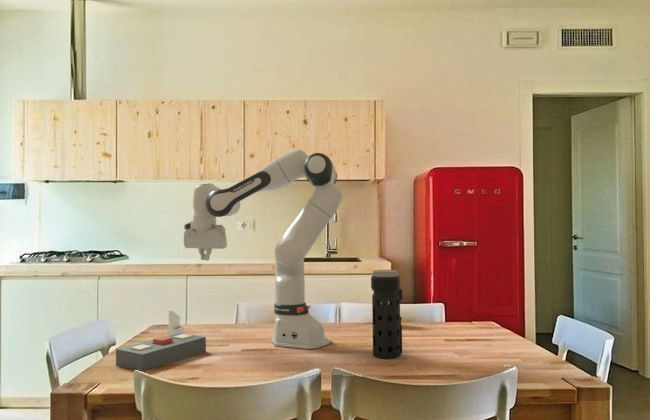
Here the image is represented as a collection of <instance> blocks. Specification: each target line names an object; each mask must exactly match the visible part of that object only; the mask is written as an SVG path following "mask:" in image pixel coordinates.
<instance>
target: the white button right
mask: <svg viewBox="0 0 650 420" xmlns="http://www.w3.org/2000/svg"><path fill="white" fill-rule="evenodd" d="M186 334H187V333H184V334H182V335H178V336H174V337H173V338H174V339H180V340H184V339H188V338H191V337H192V335H193V334H190V335H186Z"/></svg>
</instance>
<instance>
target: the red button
mask: <svg viewBox="0 0 650 420" xmlns="http://www.w3.org/2000/svg"><path fill="white" fill-rule="evenodd" d="M152 340H153V344H157V345H165V344H169V343H173V338H171V337H166V335H164V336H159V337H155V338H152Z"/></svg>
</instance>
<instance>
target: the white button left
mask: <svg viewBox="0 0 650 420" xmlns="http://www.w3.org/2000/svg"><path fill="white" fill-rule="evenodd" d="M150 348H152V346H148V345H143V344H142V345H138V346H134V347H131V350H136V351H143V350H146V349H150Z"/></svg>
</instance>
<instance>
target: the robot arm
mask: <svg viewBox="0 0 650 420" xmlns="http://www.w3.org/2000/svg"><path fill="white" fill-rule="evenodd" d="M337 174H338V173H337V171H336V167H335V165H334V163H333V161H332V160H331V159H330V157H329V156H327V155H326V154H324V153H322V152H314V153H312V154H310V155H308V154H307V153H306V152H305V151H304V150H302V149H295V150H294V149H293V150H291V151H289V152H286V153H284V154H282V155H280V156H279V157H277V158H275V159H273V160H272V161H270V162H268V163H267V164H266V165H264V166H263V167H261V169H259V170H257V171H256V172H255V173H253V174H252V175H251V176H249V177H247V178H245V179H243V180H242V181H239V182H238V183H236V184H234V185H231V186H230V187H228V188H224V189H223V188H220V187H217V186H216V185H215V184H214V183H202V184H199V185H197V186H195V188H194V190H193V197H192V207H193V216H192V217H193V218H192V220H191V221H189V222H187V223H185V224H183V229H184V232H183V246H184V248H185V249H198V252H199V255H200V260H201V261H210V259H211V258H210V257H211V253H212V252H213V249H214V250H218V249H219V250H223V249H226V248H227V247H228V241H227V240H228V239H227V234H226V228H225V227H224V225H222V224H217V218H220V217H221V218H222V217H231V216H233V215H236V214H237V213H238V212H239V210H240V208H241V201H243V200H245V199H247V198H249V197H250V196H252V195H254V194H257V193H259V192H264V191H265V192H266V191H275V190H278V189H282V188H284V187H286V186H288V185H290V184H292V183H293V182H294V181H297V180H298V179H301V178H306V180H307V181H308V182H309V183H310V184H311V185H312V186H313V187H314V191H313V193H312V195H311V196H310V198H309V199H308V200H307V202H306V203H305V204H304V206H303V207H302V209H301V210H300V211H299V213H298V215H296V217H295V218H294V220H293V221H292V223H291V224H290V226H289V227H288V228H287V230H286V231H285V233H283V235H282V237H281V238H280V240H278V242H276V246H275V249H274V257H275V258H274V259H275V260H274V261H275V262H274V263H275V266H274V267H275V268H274V270H275V272H274V273H275V276H274V277H275V279H274V282H275V283H274V284H275V285H274V286H275V287H274V292H275V293H274V294H275V296H274V298H275V299H274V301H275V302H274V305H273V310H274V311H273V313H274V326H273V333H272V338H271V340H270V341H271V343H273V344H272V345H273V346H275V347H284V348H295V349H306V350H313V349H318V348H319V349H320V348H322V347H325V346H326V345H327V346H328V345H329V344H330V343H331V342H332V341H331V338H329V337H326V336H325V329H324V326H323V324H321V322H319V320H317V319H316V318H315V317H314V316H313V315H311V314H310V312H309V310H310V309H311V305H308V304H307V303H306V302H305V301H306V298H305V296H306V295H305V293H306V292H305V284H306V283H305V257H306V256H307V255H308V253H309V252H310V250H311V248H312V247H313V246H314V244H315V243H316V241H317V240H318V239H319V236H320V235H321V233H322V232H323V231H324V230H325V228H326V227H327V226H328V224H329V222H330V220H331V219H332V218H333V217H334V215H335V214H336V212H337V210H338V208H339V207H340V204H341V202H342V200H343V193H342V190H341V188H340V187H338V186H337V185H336V182H337V179H338V175H337Z"/></svg>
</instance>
